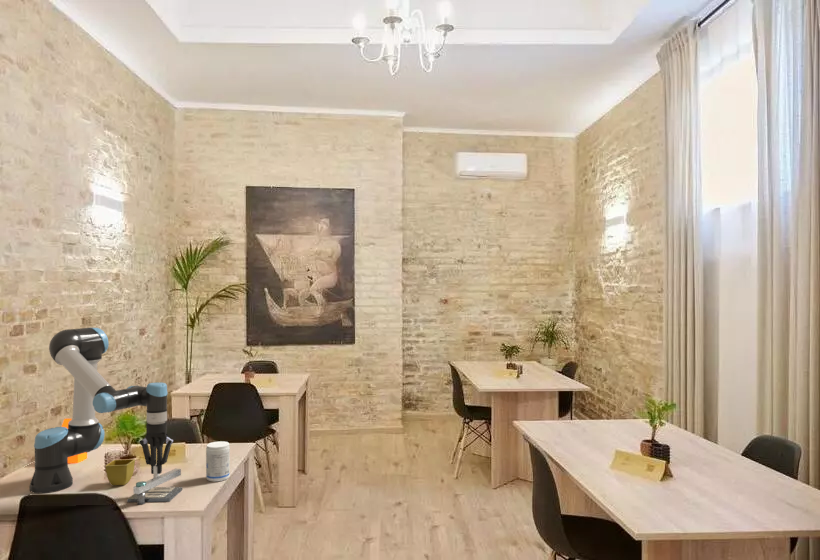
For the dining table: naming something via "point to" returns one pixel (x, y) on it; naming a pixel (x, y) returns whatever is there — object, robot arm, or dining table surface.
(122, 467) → the flower pot
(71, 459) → the orange juice
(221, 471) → the supplement tub
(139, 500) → the pivot post
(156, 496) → the label plate
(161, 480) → the swing bar
